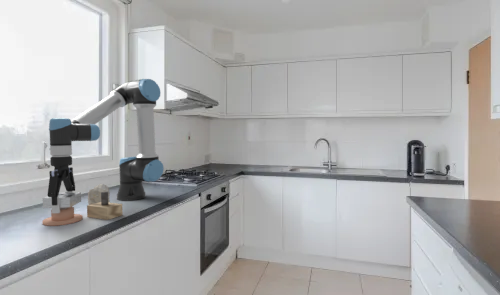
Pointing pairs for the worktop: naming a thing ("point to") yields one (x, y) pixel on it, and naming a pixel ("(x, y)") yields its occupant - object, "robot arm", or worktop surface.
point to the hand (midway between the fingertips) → (63, 209)
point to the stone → (97, 194)
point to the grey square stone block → (63, 200)
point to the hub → (62, 217)
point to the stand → (104, 209)
